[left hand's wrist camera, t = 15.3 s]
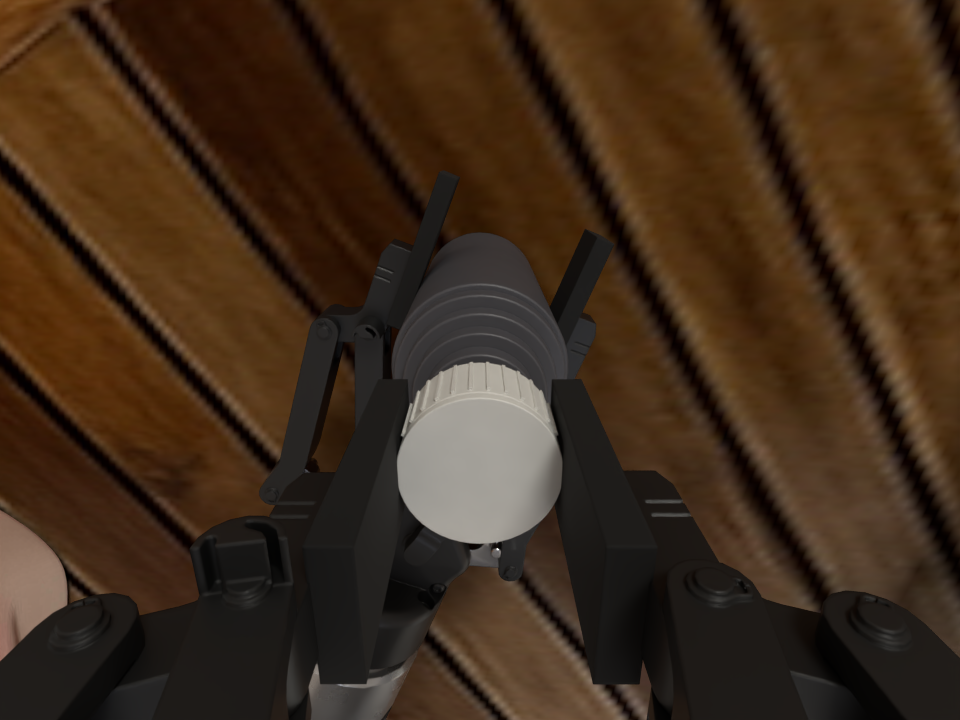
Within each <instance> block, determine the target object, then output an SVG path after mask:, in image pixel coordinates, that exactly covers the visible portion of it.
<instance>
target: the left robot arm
mask: <svg viewBox="0 0 960 720" xmlns="http://www.w3.org/2000/svg"><path fill="white" fill-rule="evenodd" d="M408 409H409V393H408V379H378V381H377V384H376V386H375V388H374V390H373V392H372V394H371V397H370V399H369V401H368V403H367V405H366V408H365V410H364V412H363V414H362V416H361V419H360V421H359V423H358V425H357V427H356V429H355V432H354V434H353V436H352V438H351V440H350V443H349V445H348V447H347V449H346V451H345V454H344V456H343V458H342V460H341V462H340V465H339V467H338V469H337V471H336V472H305V473H303V474H302V475H301V476H299V477H298V478H297V479H295V480H294V481H293V482H292V483H290V484H289V485H288V486H287V487H286V488H285V490H284V492H283V493H282V495H281V497H280V498H279V500H278V502H277V505H275V507H274V509H273V510H272V512H271V514H270V517H267V516H245V517H240V518H235V519H231V520H228V521H226V522H223V523H221V524H219V525H216V526H214V527H212V528H211V529H209V530H208V531H206V532H205V533H204V534H202V535H201V536H199V537H198V538H197V540H196V541H195V542H194V544H193V545H192V546H191V548H190V554H191V558H192V563H193V567H194V572H195V577H196V581H197V586H198V590H199V595H200V596H199V598H198V600H197V601H195V602H192V603H189V604H185V605H182V606H179V607H175V608H170V609H166V610H162V611H157V612H153V613H149V614H145V615H139V611H138V608H137V604H136V603H135V602H134V601H133V600H132V599H131V598H130V597H129V596H125V595H121V594H116V593H109V594H99V595H93V596H90V597H87V598H84V599H81V600H78V601H74V602H72V603H70V604H69V605H67V606H65V607H63V608H61V609H59V610H57V611H55V612H53V613H52V614H51V615H49V616H48V617H47V618H46V619H44V620H43V621H42V622H41V623H39V624H38V625H37V626H35V627H34V628H33V629H32V630H31V631H30V632H29V633H28V634H27V635H26V636H25V637H24V638H23V639H22V640H21V641H20V642H19V643H18V644H17V645H16V646H15V647H14V648H13V649H12V650H11V651H10V652H9V653H8V654H7V655H6V656H5V657H4V658H3V659H2V660H1V661H0V720H311V713H312V708H311V700H310V693H309V684H310V681H311V678H312V675H313V672H314V669H315V666H316V663H317V664H318V671H319V679H320V684H367V680H368V675H369V671H370V666H371V661H372V657H373V652H374V647H375V643H376V638H377V633H378V629H379V624H380V619H381V615H382V610H383V605H384V601H385V596H386V591H387V587H388V582H389V577H390V573H391V568H392V563H393V559H394V554H395V549H396V545H397V540H398V535H399V531H400V526H401V521H402V517H403V512H404V507H405V503H404V501H403V499H402V496H401V494H400V491H399V486H398V470H397V456H398V452H399V449H400V445H401V441H402V438H403V436H401V433H402V430H403V426H404V423H405V419H406V416H407V412H408ZM551 410H552V414H553V417H554V421H555V424H556V428H557V431H558V436H557V438H558V442H559V445H560V450H561V453H562V458H563V463H562V481H561V490H560V493H559V495H558V498H557V500H556V502H555V509H556V514H557V518H558V523H559V528H560V532H561V537H562V542H563V546H564V551H565V556H566V560H567V565H568V570H569V574H570V579H571V584H572V588H573V593H574V598H575V602H576V607H577V612H578V616H579V621H580V626H581V630H582V635H583V640H584V644H585V649H586V654H587V658H588V663H589V668H590V672H591V677H592V682H593V684H640V676H641V669H642V661H644V664H645V667H646V670H647V673H648V676H649V680H650V683H651V693H650V700H649V707H648V714H647V720H960V658H959V657H958V656H957V655H956V654H955V653H954V652H953V651H952V650H951V649H950V648H949V647H948V646H947V645H946V644H945V643H944V642H943V641H942V640H941V639H940V638H939V637H938V636H937V635H936V634H935V633H934V632H933V631H932V630H931V629H930V628H929V627H928V626H927V625H926V624H924V623H923V622H922V621H921V620H919V619H918V618H917V617H915V616H914V615H913V614H912V613H910V612H909V611H908V610H906V609H904V608H902V607H900V606H898V605H897V604H895V603H893V602H891V601H889V600H887V599H884V598H881V597H878V596H875V595H872V594H868V593H865V592H855V591H842V592H837V593H833V594H831V595H830V596H829V597H828V598H827V599H826V600H825V601H824V602H823V606H822V610H821V613H817V612H813V611H808V610H804V609H800V608H795V607H791V606H787V605H782V604H779V603H776V602H772V601H769V600H766V599H764V598H762V597H761V595H760V593H759V592H758V590H757V589H756V587H755V586H754V584H753V582H751V581H750V580H749V579H748V578H747V577H745V576H744V575H743V574H742V573H740V572H739V571H737V570H735V569H733V568H731V567H729V566H727V565H725V564H723V563H719V561H718V559H717V558H716V556H715V554H714V553H713V551H712V549H711V548H710V546H709V544H708V543H707V541H706V539H705V537H704V536H703V534H702V532H701V531H700V529H699V527H698V526H697V524H696V522H695V521H694V519H693V517H691V516H690V512H689V510H688V509H687V507H686V505H685V504H684V503H683V502H682V501H683V500H682V499H681V497H680V495H679V493H678V492H677V490H676V488H675V487H674V485H673V484H672V483H671V482H669V481H668V480H667V479H665V478H664V477H663V476H661V475H660V474H659V473H658V472H656V471H623V470H622V468H621V465H620V463H619V461H618V459H617V457H616V454H615V452H614V450H613V448H612V446H611V443H610V441H609V439H608V437H607V435H606V432H605V430H604V428H603V426H602V424H601V422H600V419H599V417H598V415H597V413H596V411H595V408H594V406H593V404H592V402H591V400H590V397H589V395H588V393H587V391H586V389H585V386H584V384H583V382H582V380H581V379H552V385H551Z"/></svg>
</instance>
